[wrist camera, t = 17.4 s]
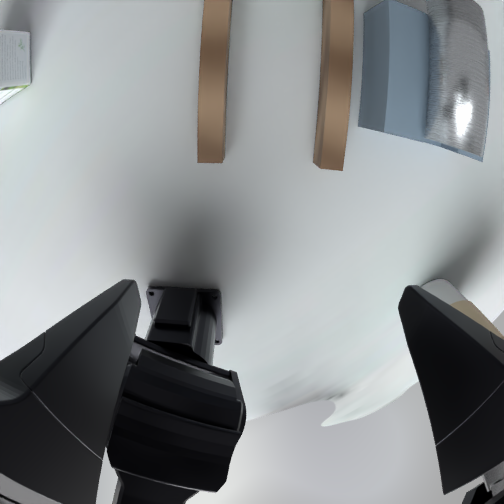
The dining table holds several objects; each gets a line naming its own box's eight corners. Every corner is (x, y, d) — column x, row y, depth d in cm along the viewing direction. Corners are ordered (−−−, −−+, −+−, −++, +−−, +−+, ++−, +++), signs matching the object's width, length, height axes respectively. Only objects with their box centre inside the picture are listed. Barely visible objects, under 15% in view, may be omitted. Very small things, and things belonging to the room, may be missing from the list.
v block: (451, 149, 17) (482, 161, 14) (358, 126, 17) (383, 132, 13) (457, 52, 13) (489, 50, 9) (363, 13, 12) (388, -2, 9)
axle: (453, 147, 14) (493, 162, 11) (411, 134, 14) (453, 146, 10) (457, 22, 9) (495, 17, 6) (414, -1, 9) (451, -15, 5)
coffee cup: (410, 269, 23) (496, 399, 10) (470, 268, 23) (548, 365, 10) (382, 338, 27) (429, 456, 14) (440, 330, 27) (492, 425, 14)
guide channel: (333, 164, 18) (342, 170, 16) (202, 157, 18) (197, 162, 16) (343, -3, 12) (353, -12, 10) (210, -15, 11) (207, -27, 10)
